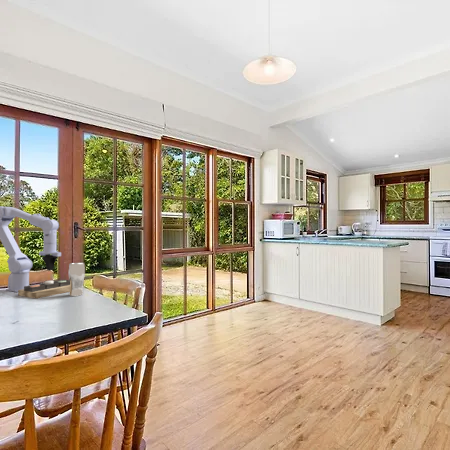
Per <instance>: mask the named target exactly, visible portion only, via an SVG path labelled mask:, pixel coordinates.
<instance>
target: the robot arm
mask: <svg viewBox="0 0 450 450" xmlns="http://www.w3.org/2000/svg"><path fill="white" fill-rule="evenodd" d="M16 217H17V218H20V219H22V220H26V221H28V222H29V224H30V225H32V226H35V227H38V228H40V229H41V230H42V233H43V250H42V251H39V252H38V255H39V256H42V257H41V259H42V260H43V262H44V265H45V268H46V271H53V270H54V266H55V264H56V261H57V259H58V257H62V252H61V251H58V250H57V249H58V248H57V246H58V245H57V241H58V240H57V239H58V237H57V232H58V231H57V230H58V229H59V227H60V223H59V221H57V220H56V219H50V217H48V216H47V217H46V216H43V215H42V214H41V213H33V214H31V213H29V212H26V211H25V210H21V209H20V208H17V207H13V206H1V205H0V242H1V244H2V245H3V248H4V250H5V251H6V253H7V255H8V259H7V261H6V262H7V264H8V270H9V271H10V274H9V275H8V277H7V278H8V279H7V289H6V291H9V292H15V293H18V290H21V289H24V286H30V270H31V269H32V268H33V261H32V260H31V259H30V258H29V257H28V255H27V254H25V253H23V252H22V251H21V249H20V246H19V245H18V243H17V241H16V240H15V237H14V235H13V234H12V232H11V230H10V228H9V225H10V224H11V222H12V221H13V220H14V218H16Z"/></svg>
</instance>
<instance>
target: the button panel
mask: <svg viewBox="0 0 450 450" xmlns="http://www.w3.org/2000/svg"><path fill="white" fill-rule="evenodd" d="M53 281H54V280H53ZM58 281H66V282H58ZM32 285H33V284H31V285H30V284H29V286H24V289H21V290H18V292H17V296H20V297H25V298H30V299H41V298H46V297H51V296H56V295H61V294H66V293H70V281H69V279H68V280H66V279H61V280H60V279H59V280H56V281H54V284H49V285H45V284H44V283H43V282H42V283H39V284H37V283H36V284H35V285H40V286H38V287H30V286H32Z"/></svg>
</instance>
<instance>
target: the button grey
mask: <svg viewBox="0 0 450 450" xmlns="http://www.w3.org/2000/svg"><path fill="white" fill-rule="evenodd" d="M43 282H44V284H45V285H49V284H54V280H45V281H43Z"/></svg>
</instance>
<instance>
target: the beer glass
mask: <svg viewBox="0 0 450 450" xmlns="http://www.w3.org/2000/svg"><path fill="white" fill-rule="evenodd" d="M85 273H86V268H85V262H70V263H69V264H68V281H70V292H69V295H68V296H69V297H79V296H83V295H84V286H83V284H84V281H85V280H84V279H85V275H86V274H85Z"/></svg>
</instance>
